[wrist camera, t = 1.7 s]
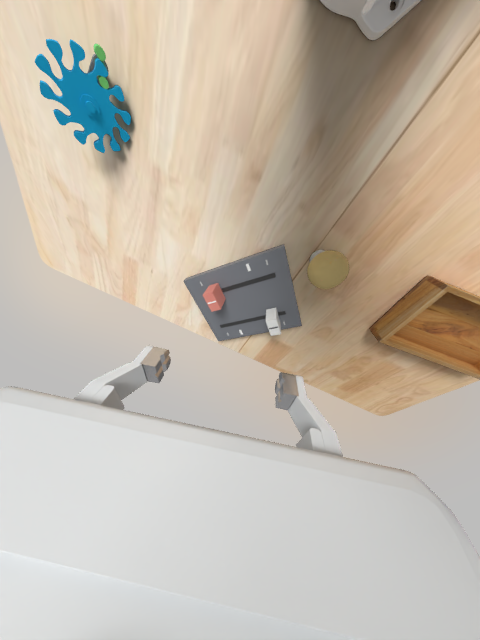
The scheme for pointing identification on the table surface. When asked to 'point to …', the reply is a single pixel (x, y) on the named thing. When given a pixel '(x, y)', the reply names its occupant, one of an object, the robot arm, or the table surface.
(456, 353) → the tray
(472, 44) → the table surface
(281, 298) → the console
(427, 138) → the table surface
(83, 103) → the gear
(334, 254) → the light bulb
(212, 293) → the red fader
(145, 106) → the table surface
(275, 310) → the grey fader
